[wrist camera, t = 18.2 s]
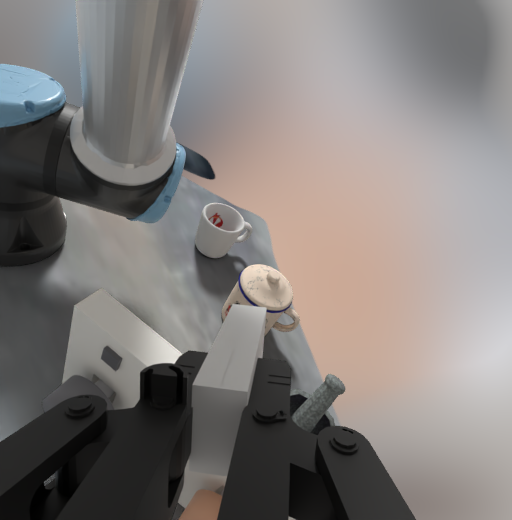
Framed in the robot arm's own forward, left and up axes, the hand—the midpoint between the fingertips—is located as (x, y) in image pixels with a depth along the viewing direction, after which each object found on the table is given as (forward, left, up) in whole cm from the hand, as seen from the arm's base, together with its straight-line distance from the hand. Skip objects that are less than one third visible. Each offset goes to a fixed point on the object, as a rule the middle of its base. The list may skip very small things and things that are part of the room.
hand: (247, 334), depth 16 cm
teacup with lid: (+12, +30, -34) cm, 47 cm away
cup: (+3, +45, -34) cm, 57 cm away
